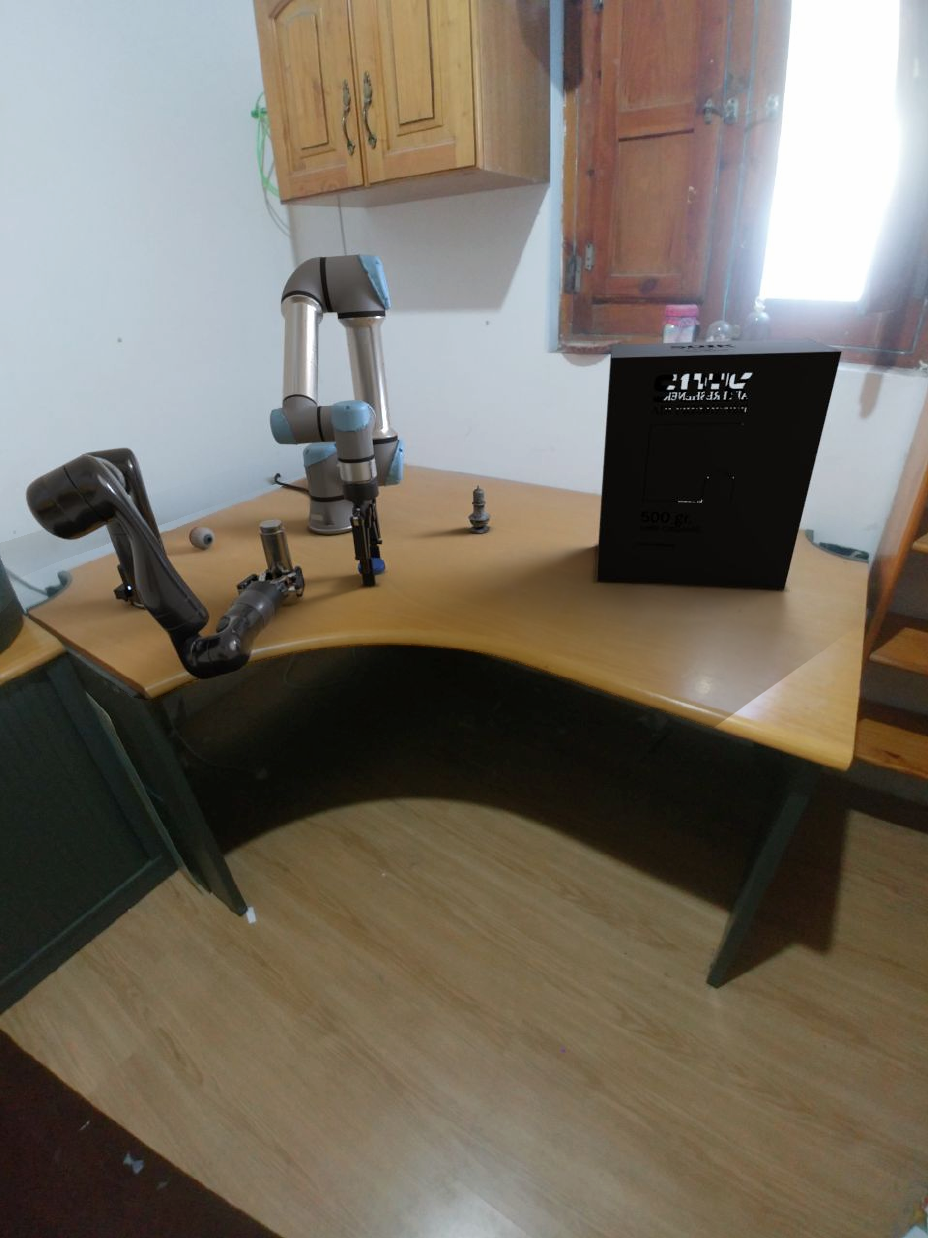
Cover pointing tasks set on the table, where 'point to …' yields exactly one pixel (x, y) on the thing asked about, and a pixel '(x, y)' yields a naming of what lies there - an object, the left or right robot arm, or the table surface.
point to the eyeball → (201, 537)
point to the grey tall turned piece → (479, 513)
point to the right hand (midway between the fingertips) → (373, 578)
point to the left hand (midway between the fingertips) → (286, 569)
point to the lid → (375, 566)
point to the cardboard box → (710, 460)
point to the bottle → (277, 553)
